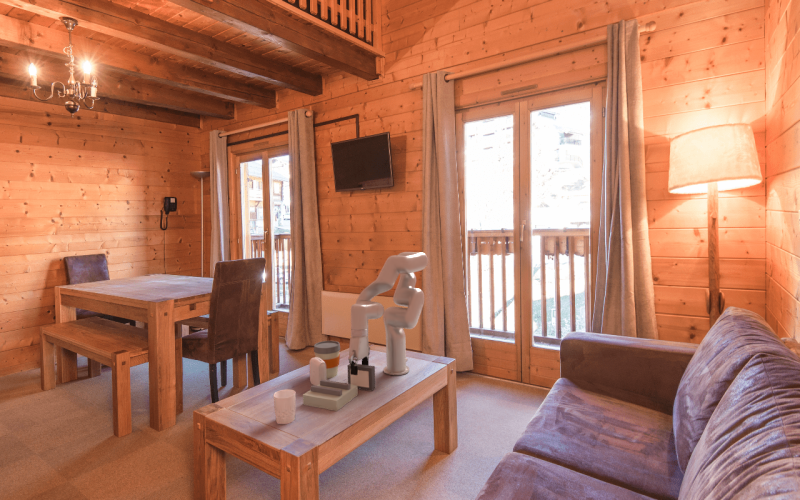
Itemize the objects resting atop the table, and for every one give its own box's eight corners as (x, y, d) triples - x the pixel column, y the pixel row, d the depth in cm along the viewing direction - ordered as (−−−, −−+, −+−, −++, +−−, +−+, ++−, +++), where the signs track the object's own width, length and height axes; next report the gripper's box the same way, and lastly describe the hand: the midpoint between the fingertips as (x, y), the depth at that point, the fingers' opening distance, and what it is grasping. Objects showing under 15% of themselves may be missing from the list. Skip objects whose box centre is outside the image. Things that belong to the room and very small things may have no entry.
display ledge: (325, 389, 175) (325, 376, 174) (357, 394, 168) (357, 380, 168) (303, 404, 160) (302, 389, 160) (337, 411, 154) (336, 395, 153)
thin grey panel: (351, 384, 179) (350, 363, 179) (375, 388, 174) (374, 366, 174) (347, 387, 176) (347, 365, 176) (371, 391, 171) (371, 368, 171)
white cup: (277, 415, 151) (276, 390, 150) (298, 414, 152) (297, 388, 151) (272, 426, 143) (271, 398, 143) (294, 424, 144) (293, 397, 143)
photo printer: (308, 383, 183) (307, 356, 182) (317, 380, 185) (316, 354, 185) (319, 389, 175) (318, 362, 174) (328, 387, 177) (327, 359, 177)
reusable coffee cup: (342, 378, 187) (341, 346, 186) (314, 381, 185) (313, 349, 184) (340, 369, 200) (339, 339, 199) (314, 371, 197) (313, 341, 196)
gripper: (361, 327, 183) (361, 364, 184) (341, 336, 168) (341, 376, 168) (376, 329, 180) (376, 366, 181) (357, 337, 164) (357, 378, 165)
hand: (359, 371), depth 174 cm, fingers open, 9 cm apart
